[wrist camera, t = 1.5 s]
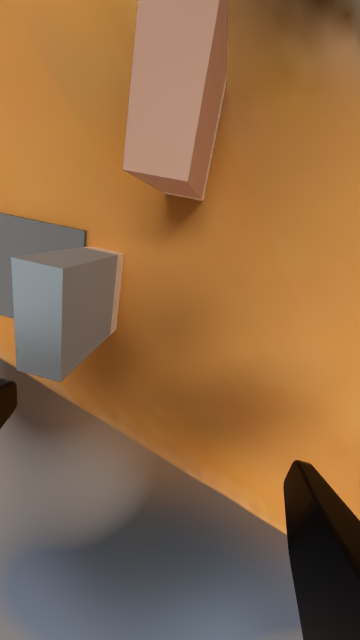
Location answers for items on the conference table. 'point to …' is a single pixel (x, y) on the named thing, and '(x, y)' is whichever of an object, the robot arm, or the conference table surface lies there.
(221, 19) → the terracotta block
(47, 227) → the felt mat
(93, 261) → the blue-grey block
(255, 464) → the conference table surface
